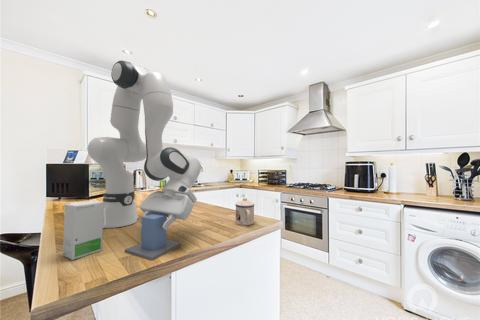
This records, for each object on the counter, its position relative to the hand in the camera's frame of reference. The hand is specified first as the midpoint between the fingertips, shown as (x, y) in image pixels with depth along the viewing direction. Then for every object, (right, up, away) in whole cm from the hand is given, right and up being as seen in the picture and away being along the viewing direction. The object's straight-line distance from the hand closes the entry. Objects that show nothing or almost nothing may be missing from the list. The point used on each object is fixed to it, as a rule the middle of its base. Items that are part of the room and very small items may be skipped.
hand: (152, 226), depth 65 cm
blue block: (0, -7, 0) cm, 7 cm away
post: (0, -7, 0) cm, 7 cm away
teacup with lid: (+31, -8, +28) cm, 43 cm away
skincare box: (-20, -7, -3) cm, 22 cm away
